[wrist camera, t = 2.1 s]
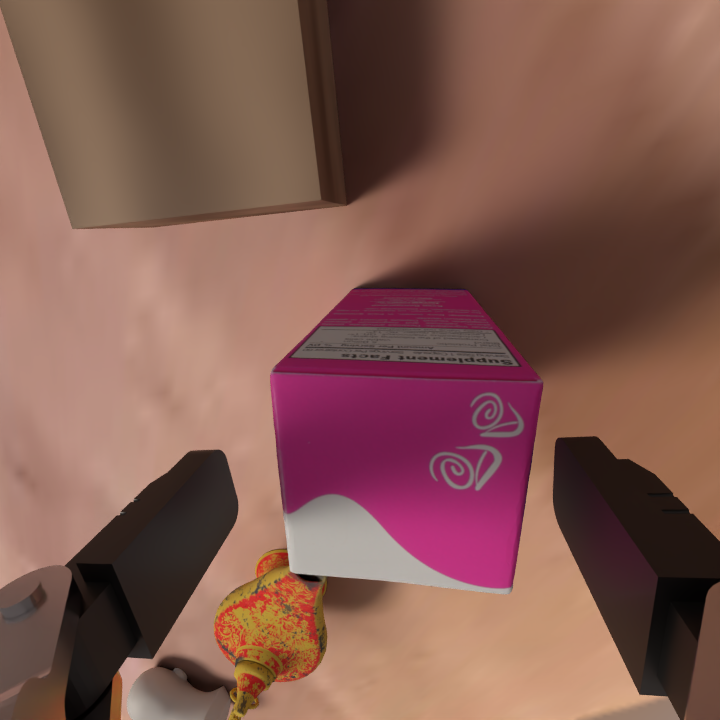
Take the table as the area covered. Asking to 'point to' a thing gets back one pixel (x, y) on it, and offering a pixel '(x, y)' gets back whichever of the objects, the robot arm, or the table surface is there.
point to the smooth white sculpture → (174, 698)
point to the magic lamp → (271, 628)
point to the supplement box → (406, 442)
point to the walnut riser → (182, 107)
